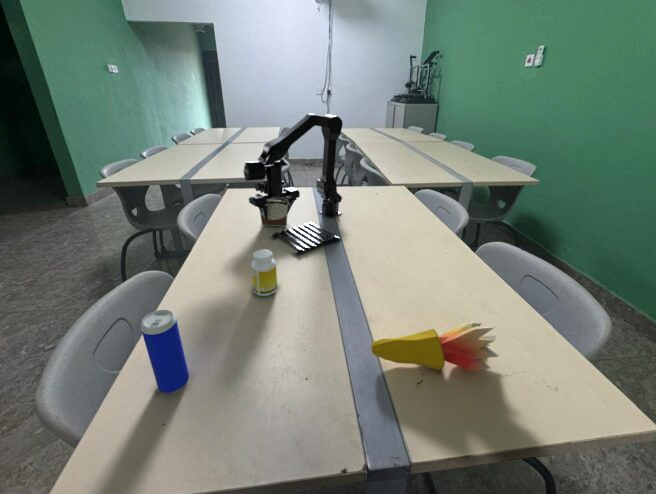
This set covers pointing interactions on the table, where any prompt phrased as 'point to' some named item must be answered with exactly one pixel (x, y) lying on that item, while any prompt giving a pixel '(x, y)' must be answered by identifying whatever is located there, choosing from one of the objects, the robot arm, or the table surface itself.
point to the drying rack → (305, 247)
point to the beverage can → (165, 350)
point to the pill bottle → (264, 273)
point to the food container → (276, 212)
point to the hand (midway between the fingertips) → (276, 217)
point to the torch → (440, 348)
